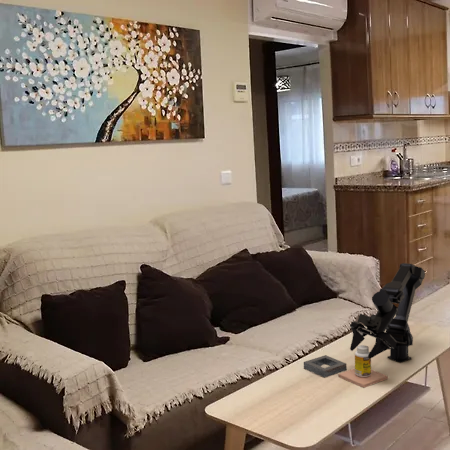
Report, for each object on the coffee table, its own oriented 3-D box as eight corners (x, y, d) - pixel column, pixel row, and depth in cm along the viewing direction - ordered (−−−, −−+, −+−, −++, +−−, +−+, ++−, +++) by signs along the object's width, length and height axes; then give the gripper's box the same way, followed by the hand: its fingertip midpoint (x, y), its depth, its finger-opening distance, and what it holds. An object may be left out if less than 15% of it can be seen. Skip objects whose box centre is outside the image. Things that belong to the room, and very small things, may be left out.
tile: (362, 368, 217) (362, 365, 217) (387, 378, 207) (387, 376, 207) (338, 376, 211) (338, 374, 210) (363, 387, 201) (363, 384, 201)
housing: (325, 361, 225) (325, 355, 225) (346, 370, 216) (346, 363, 216) (303, 368, 219) (303, 361, 219) (324, 377, 210) (324, 371, 210)
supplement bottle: (363, 379, 205) (363, 351, 204) (351, 374, 210) (351, 346, 208) (374, 375, 208) (374, 347, 207) (362, 370, 213) (362, 343, 211)
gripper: (353, 299, 215) (329, 334, 212) (390, 311, 199) (365, 349, 195) (369, 316, 220) (347, 350, 216) (407, 329, 204) (383, 367, 200)
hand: (359, 354), depth 207 cm, fingers open, 9 cm apart
